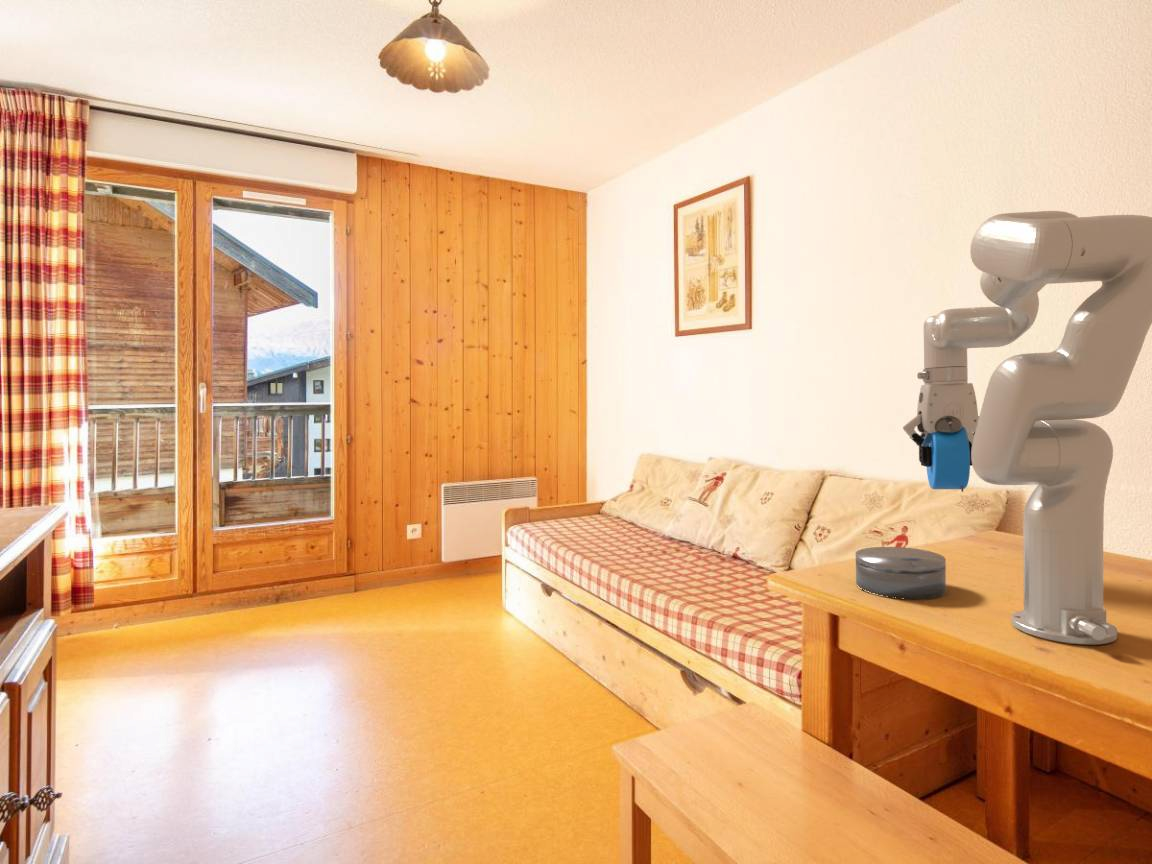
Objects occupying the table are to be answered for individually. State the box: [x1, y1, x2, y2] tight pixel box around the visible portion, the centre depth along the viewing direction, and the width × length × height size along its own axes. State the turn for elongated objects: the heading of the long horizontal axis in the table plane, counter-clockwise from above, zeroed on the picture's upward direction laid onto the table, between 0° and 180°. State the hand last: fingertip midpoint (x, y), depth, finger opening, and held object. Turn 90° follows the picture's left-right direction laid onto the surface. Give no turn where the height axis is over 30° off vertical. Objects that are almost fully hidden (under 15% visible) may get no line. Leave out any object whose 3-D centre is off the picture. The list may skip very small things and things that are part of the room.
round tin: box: [855, 546, 947, 601], centre depth 120 cm, size 15×15×6 cm
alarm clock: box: [926, 416, 971, 492], centre depth 129 cm, size 13×6×15 cm, turn 159°
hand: (946, 464), depth 129 cm, fingers closed on alarm clock, 7 cm apart
